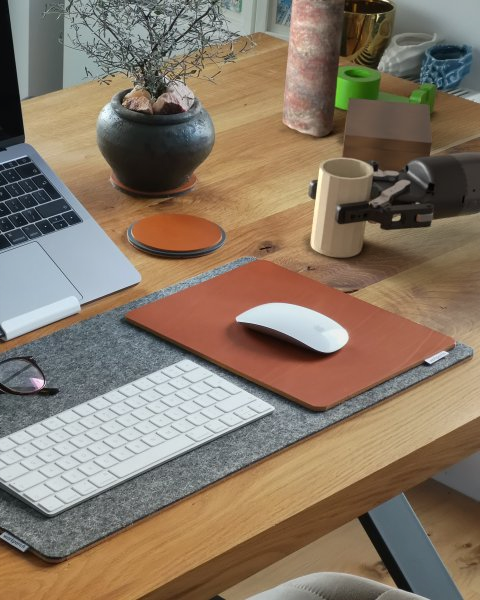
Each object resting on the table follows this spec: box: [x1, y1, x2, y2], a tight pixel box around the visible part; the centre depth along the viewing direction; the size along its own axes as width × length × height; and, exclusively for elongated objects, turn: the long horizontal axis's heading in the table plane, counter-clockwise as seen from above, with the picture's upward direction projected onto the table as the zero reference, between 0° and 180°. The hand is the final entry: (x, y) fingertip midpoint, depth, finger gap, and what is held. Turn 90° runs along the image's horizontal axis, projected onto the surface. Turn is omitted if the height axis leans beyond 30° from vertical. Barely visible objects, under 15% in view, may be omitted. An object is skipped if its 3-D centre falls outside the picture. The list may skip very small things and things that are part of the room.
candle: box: [282, 0, 346, 138], centre depth 158 cm, size 8×7×20 cm
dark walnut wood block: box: [341, 98, 433, 172], centre depth 152 cm, size 11×14×6 cm
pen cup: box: [310, 157, 374, 259], centre depth 129 cm, size 6×6×10 cm
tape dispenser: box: [335, 65, 438, 115], centre depth 169 cm, size 15×7×5 cm, turn 54°
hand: (323, 202), depth 128 cm, fingers closed on pen cup, 6 cm apart
